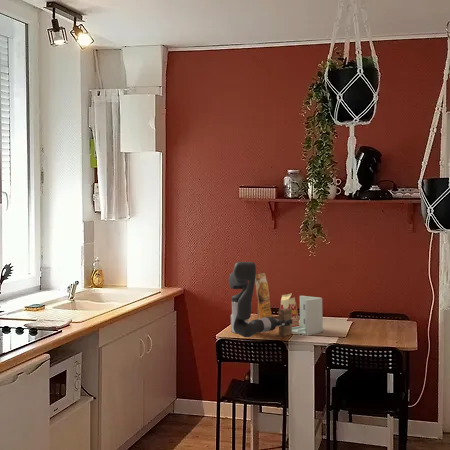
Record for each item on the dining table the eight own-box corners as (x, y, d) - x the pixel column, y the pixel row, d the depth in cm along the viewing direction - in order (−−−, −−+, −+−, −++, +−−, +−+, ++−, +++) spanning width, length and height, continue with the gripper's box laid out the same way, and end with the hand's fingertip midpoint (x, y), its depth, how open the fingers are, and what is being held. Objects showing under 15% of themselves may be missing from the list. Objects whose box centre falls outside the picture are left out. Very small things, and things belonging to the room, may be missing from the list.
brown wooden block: (278, 335, 387) (278, 309, 387) (286, 333, 391) (285, 308, 391) (284, 336, 384) (284, 310, 384) (291, 334, 389) (291, 308, 388)
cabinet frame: (286, 332, 395) (285, 298, 395) (301, 329, 404) (301, 295, 404) (307, 335, 384) (306, 300, 384) (322, 332, 393) (322, 297, 393)
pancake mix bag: (251, 320, 437) (250, 274, 436) (265, 315, 453) (264, 271, 452) (261, 321, 433) (260, 275, 432) (274, 316, 450) (274, 271, 449)
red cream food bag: (299, 327, 410) (299, 292, 410) (289, 329, 404) (289, 294, 403) (287, 325, 417) (286, 291, 416) (277, 327, 410) (276, 293, 409)
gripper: (275, 318, 372) (295, 315, 383) (255, 316, 382) (276, 312, 393) (275, 333, 372) (296, 328, 383) (255, 330, 382) (276, 325, 393)
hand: (285, 320), depth 388 cm, fingers open, 8 cm apart
